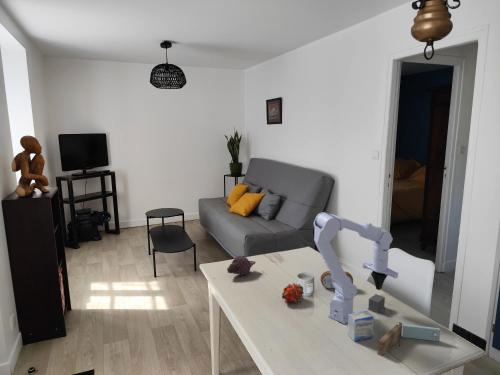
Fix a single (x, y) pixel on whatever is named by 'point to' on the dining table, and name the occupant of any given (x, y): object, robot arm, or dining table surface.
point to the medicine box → (360, 325)
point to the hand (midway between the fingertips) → (378, 288)
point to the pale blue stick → (421, 332)
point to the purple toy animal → (240, 265)
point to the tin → (327, 279)
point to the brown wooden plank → (389, 339)
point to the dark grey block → (376, 303)
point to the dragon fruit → (293, 293)
